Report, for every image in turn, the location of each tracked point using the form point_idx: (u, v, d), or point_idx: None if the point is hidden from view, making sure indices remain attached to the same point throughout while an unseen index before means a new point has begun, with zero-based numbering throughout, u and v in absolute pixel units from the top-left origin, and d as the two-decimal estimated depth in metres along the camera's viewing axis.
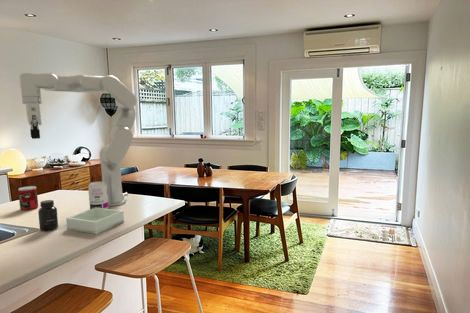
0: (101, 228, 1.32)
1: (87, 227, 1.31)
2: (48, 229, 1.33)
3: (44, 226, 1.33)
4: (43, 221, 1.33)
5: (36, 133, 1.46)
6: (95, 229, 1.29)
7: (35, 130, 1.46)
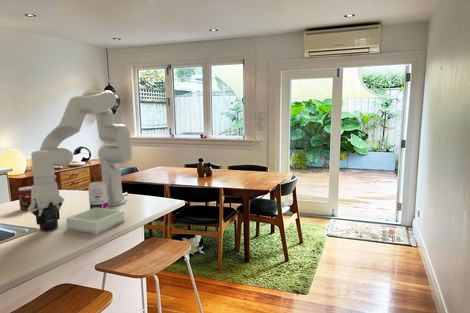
0: (101, 228, 1.32)
1: (87, 227, 1.31)
2: (48, 229, 1.33)
3: (44, 226, 1.33)
4: None
5: None
6: (95, 229, 1.29)
7: None
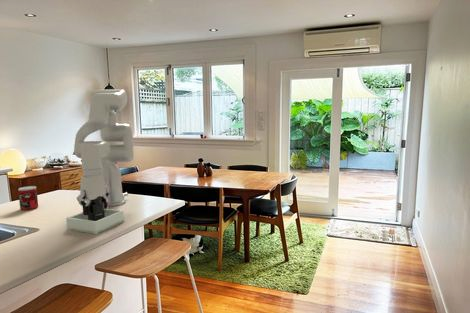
0: (101, 228, 1.32)
1: (87, 227, 1.31)
2: None
3: (93, 220, 1.36)
4: (92, 215, 1.36)
5: None
6: (95, 229, 1.29)
7: None
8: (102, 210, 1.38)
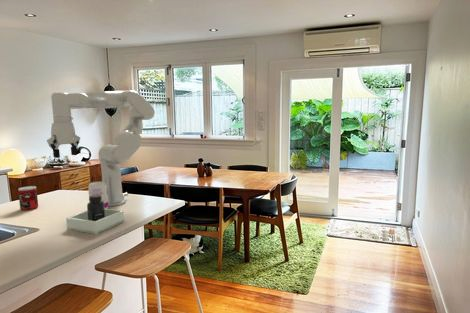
0: (101, 228, 1.32)
1: (87, 227, 1.31)
2: None
3: (93, 220, 1.36)
4: (92, 215, 1.36)
5: None
6: (95, 229, 1.29)
7: None
8: (102, 210, 1.38)
